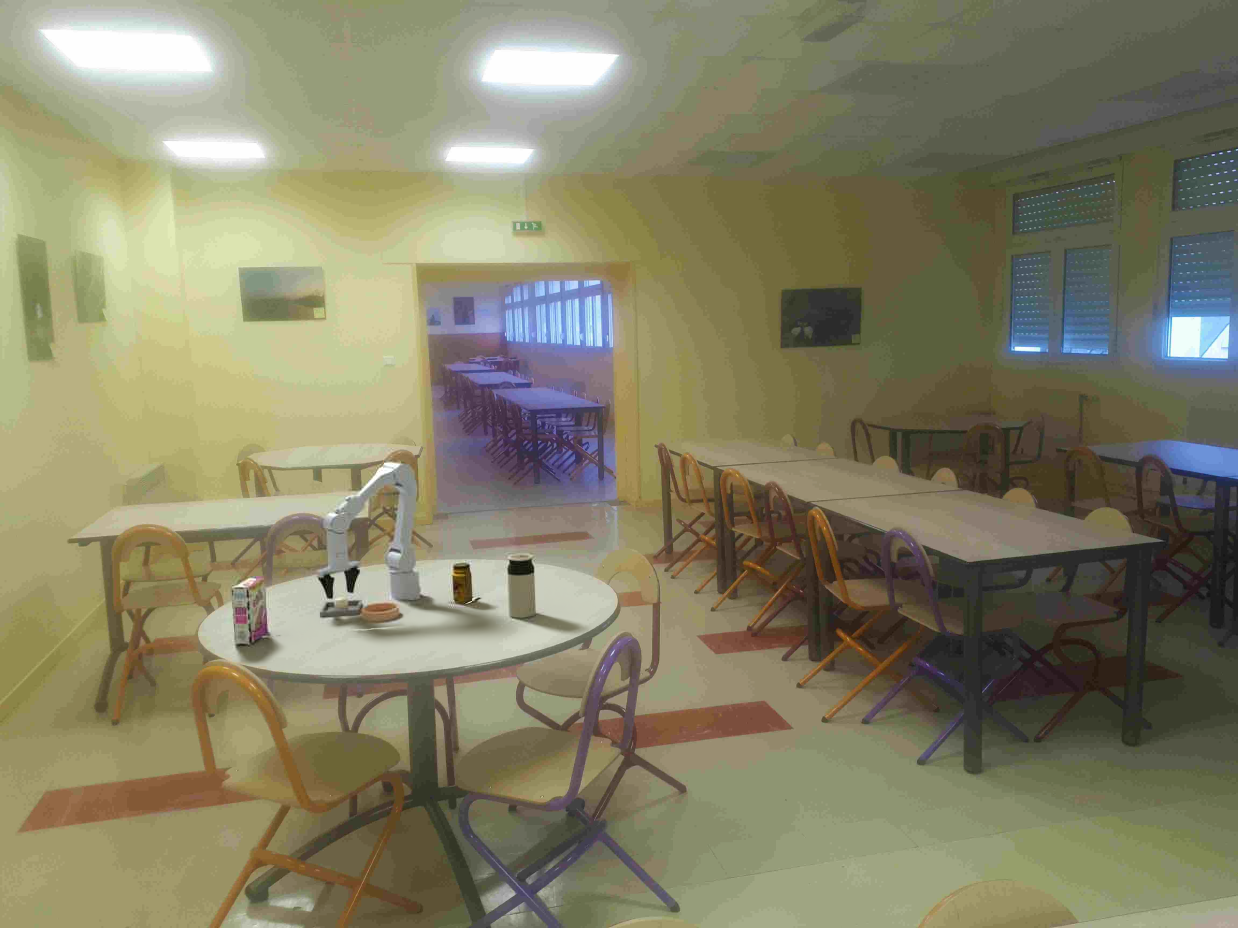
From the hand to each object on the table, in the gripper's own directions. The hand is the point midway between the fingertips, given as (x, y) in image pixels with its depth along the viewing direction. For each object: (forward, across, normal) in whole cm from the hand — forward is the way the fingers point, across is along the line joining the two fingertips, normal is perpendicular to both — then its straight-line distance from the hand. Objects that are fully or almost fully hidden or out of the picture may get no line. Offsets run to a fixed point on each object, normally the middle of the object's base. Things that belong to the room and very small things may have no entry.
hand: (340, 595), depth 273 cm
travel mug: (+5, -27, +50) cm, 57 cm away
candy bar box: (+6, +30, 0) cm, 30 cm away
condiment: (+5, -30, +24) cm, 38 cm away
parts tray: (+5, 0, 0) cm, 5 cm away
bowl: (+5, -3, +15) cm, 16 cm away
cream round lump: (+5, 0, 0) cm, 5 cm away
